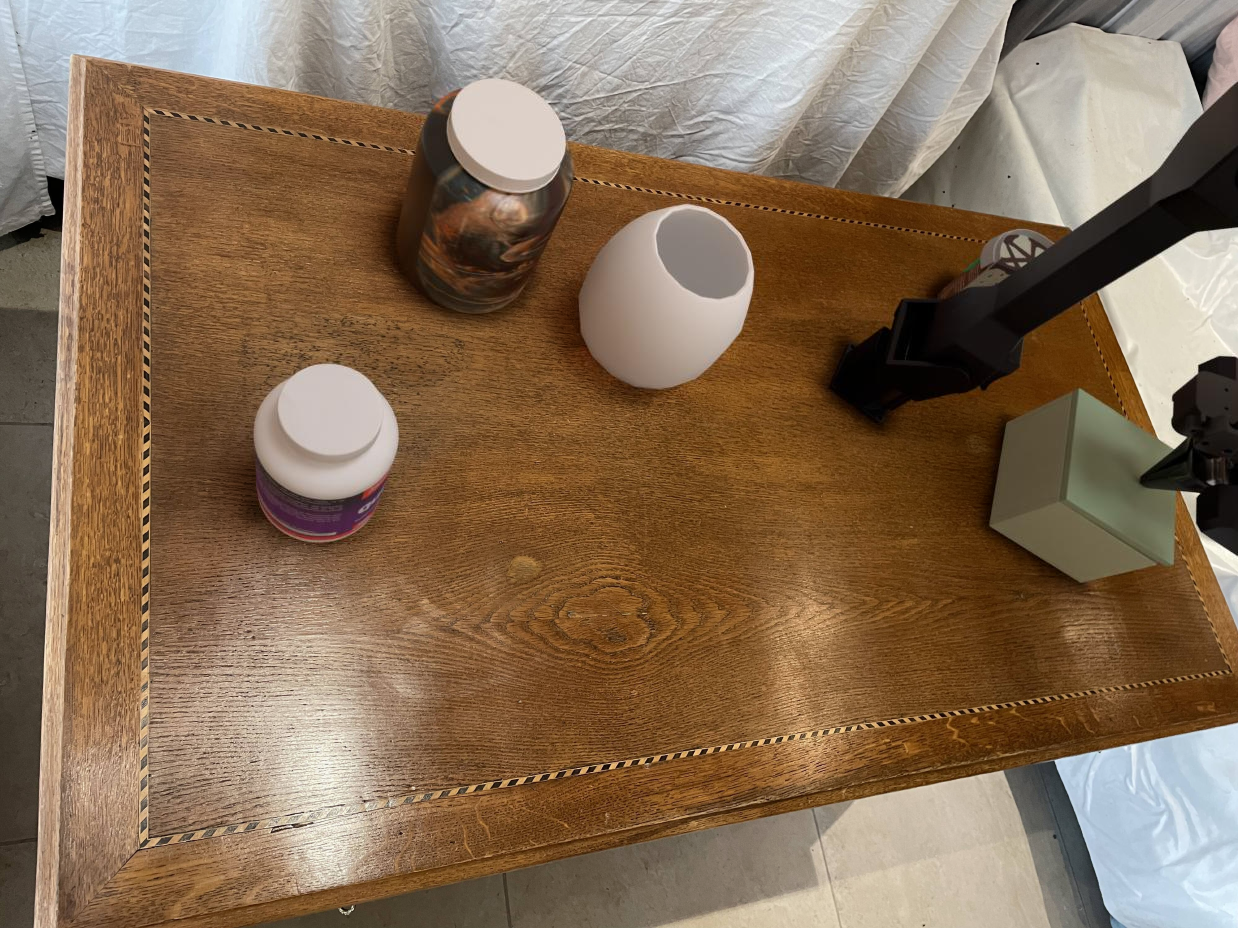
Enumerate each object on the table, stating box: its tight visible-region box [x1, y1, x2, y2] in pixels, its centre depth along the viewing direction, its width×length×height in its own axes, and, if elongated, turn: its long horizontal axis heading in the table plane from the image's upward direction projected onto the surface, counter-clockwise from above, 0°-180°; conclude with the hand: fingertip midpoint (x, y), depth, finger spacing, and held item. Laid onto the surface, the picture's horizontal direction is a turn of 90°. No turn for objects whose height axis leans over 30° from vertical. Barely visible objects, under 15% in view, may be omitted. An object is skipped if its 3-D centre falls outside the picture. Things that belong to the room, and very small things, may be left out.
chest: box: [988, 391, 1158, 584], centre depth 80 cm, size 12×13×8 cm
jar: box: [396, 77, 575, 315], centre depth 60 cm, size 12×12×15 cm
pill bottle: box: [253, 363, 400, 543], centre depth 49 cm, size 8×8×14 cm
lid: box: [1060, 387, 1177, 568], centre depth 76 cm, size 13×13×1 cm
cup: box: [578, 203, 755, 390], centre depth 65 cm, size 13×13×14 cm
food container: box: [936, 228, 1055, 299], centre depth 86 cm, size 12×6×10 cm, turn 84°
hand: (1142, 482), depth 76 cm, fingers closed
